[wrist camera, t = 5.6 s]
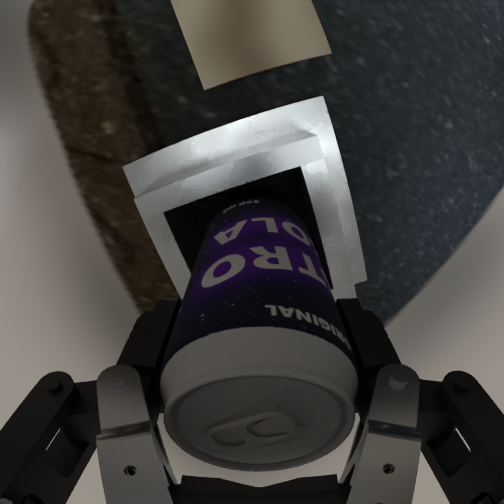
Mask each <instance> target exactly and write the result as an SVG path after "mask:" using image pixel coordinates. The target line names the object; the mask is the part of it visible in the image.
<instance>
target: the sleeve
mask: <svg viewBox="0 0 504 504" xmlns="http://www.w3.org/2000/svg"><path fill="white" fill-rule="evenodd" d="M292 168H294V169H295V172H296V175H297V178H298V182H299V185H300V188H301V192H302V195H303V199H304V202H305V205H306V209H307V212H308V216H309V219H310V223H311V227H312V230H313V234H314V237H315V241H316V245H317V249H318V251H317V255H318V257H319V260H320V263H321V265H322V268H323V270H324V273H325V276H326V278H327V281H328V284H329V286H330V289H331V292H332V294H333V297H334V300H335V303H336V300H337V299H338V298H356V292H355V287H354V284H357V283H360V282H363V281H366V280H367V276H366V270H365V264H364V259H363V253H362V248H361V243H360V237H359V233H358V228H357V223H356V218H355V213H354V209H353V204H352V200H351V196H350V191H349V187H348V183H347V179H346V175H345V171H344V167H343V163H342V159H341V156H340V152H339V148H338V145H337V141H336V137H335V134H334V130H333V127H332V124H331V120H330V117H329V114H328V110H327V107H326V104H325V101H324V97H323V96H319V97H315V98H311V99H308V100H304V101H300V102H296V103H293V104H289V105H286V106H282V107H279V108H275V109H272V110H269V111H266V112H262V113H259V114H256V115H253V116H250V117H247V118H244V119H241V120H238V121H235V122H232V123H229V124H226V125H223V126H220V127H217V128H215V129H212V130H209V131H207V132H204V133H201V134H199V135H196V136H193V137H191V138H188V139H186V140H183V141H181V142H178V143H176V144H173V145H171V146H168V147H166V148H163V149H161V150H159V151H156V152H154V153H152V154H149V155H147V156H145V157H143V158H140V159H138V160H136V161H134V162H131V163H129V164H127V165H125V166H123V169H124V172H125V174H126V177H127V179H128V181H129V184H130V186H131V188H132V191H133V193H134V195H135V198H134V201H135V203H136V206H137V208H138V210H139V212H140V215H141V217H142V219H143V221H144V223H145V226H146V228H147V230H148V232H149V234H150V236H151V238H152V241H153V243H154V245H155V247H156V249H157V251H158V253H159V255H160V257H161V259H162V261H163V263H164V265H165V267H166V269H167V271H168V273H169V275H170V277H171V279H172V281H173V283H174V285H175V287H176V289H177V291H178V293H179V295H180V297H181V299H182V300H183V297H184V294H185V291H186V288H187V285H188V282H189V279H190V277H191V274H192V271H193V268H194V265H195V262H196V259H197V257H198V254H199V251H200V248H201V246H202V243H203V240H204V238H203V236H202V234H201V231H200V229H199V226H198V224H197V222H196V219H195V217H194V215H193V212H192V210H191V207H190V205H189V202H192V201H195V200H198V199H201V198H203V197H206V196H209V195H212V194H215V193H218V192H221V191H224V190H227V189H230V188H232V187H235V186H238V185H242V184H245V183H248V182H251V181H254V180H257V179H260V178H263V177H266V176H269V175H273V174H276V173H279V172H282V171H286V170H289V169H292Z"/></svg>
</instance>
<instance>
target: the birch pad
mask: <svg viewBox="0 0 504 504" xmlns="http://www.w3.org/2000/svg"><path fill="white" fill-rule="evenodd" d="M171 3H172V6H173V8H174V11H175V14H176V16H177V19H178V21H179V24H180V27H181V29H182V32H183V35H184V37H185V40H186V43H187V45H188V48H189V51H190V53H191V56H192V58H193V61H194V64H195V67H196V69H197V72H198V75H199V77H200V80H201V83H202V85H203V88H204V90H209V89H211V88H214V87H217V86H220V85H222V84H225V83H228V82H231V81H234V80H237V79H240V78H243V77H246V76H250V75H253V74H256V73H259V72H263V71H266V70H270V69H273V68H277V67H280V66H284V65H288V64H292V63H296V62H300V61H304V60H308V59H312V58H317V57H321V56H326V55H330V54H331V53H332V52H331V49H330V47H329V44H328V41H327V38H326V36H325V33H324V31H323V28H322V25H321V23H320V20H319V18H318V15H317V13H316V11H315V8H314V6H313V3H312V1H311V0H171Z"/></svg>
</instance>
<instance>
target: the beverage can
mask: <svg viewBox="0 0 504 504" xmlns="http://www.w3.org/2000/svg"><path fill="white" fill-rule="evenodd" d="M358 387H359V370H358V366H357V363H356V360H355V357H354V354H353V351H352V348H351V345H350V342H349V339H348V336H347V333H346V331H345V328H344V325H343V322H342V319H341V316H340V314H339V311H338V308H337V305H336V303H335V300H334V297H333V294H332V292H331V289H330V286H329V284H328V281H327V278H326V276H325V273H324V270H323V268H322V265H321V263H320V260H319V257H318V255H317V252H316V250H315V247H314V245H313V242H312V240H311V237H310V235H309V232H308V230H307V227H306V225H305V223H304V222H303V220H302V219H301V217H300V216H299V215H298V214H297V213H296V212H295V211H294V210H293V209H291V208H290V207H288V206H287V205H285V204H283V203H281V202H279V201H276V200H273V199H269V198H260V197H255V198H246V199H242V200H239V201H236V202H234V203H232V204H230V205H228V206H227V207H225V208H224V209H222V210H221V211H220V212H219V213H218V214H217V215H216V216H215V217H214V219H213V220H212V221H211V223H210V225H209V227H208V229H207V232H206V235H205V237H204V240H203V243H202V246H201V248H200V251H199V254H198V257H197V259H196V262H195V265H194V268H193V271H192V274H191V277H190V279H189V282H188V285H187V288H186V291H185V294H184V297H183V300H182V303H181V306H180V309H179V312H178V315H177V318H176V321H175V324H174V327H173V330H172V333H171V336H170V339H169V342H168V345H167V349H166V352H165V355H164V358H163V361H162V365H161V368H160V372H159V388H160V393H161V396H162V399H163V402H164V404H165V410H164V424H165V428H166V431H167V432H168V434H169V436H170V438H171V439H172V440H173V441H174V442H175V443H176V444H177V445H178V446H179V447H180V448H181V449H182V450H184V451H185V452H187V453H188V454H190V455H191V456H193V457H195V458H197V459H199V460H201V461H204V462H206V463H209V464H212V465H216V466H219V467H223V468H228V469H233V470H240V471H254V472H258V471H260V472H261V471H275V470H283V469H288V468H293V467H297V466H301V465H304V464H307V463H309V462H312V461H315V460H317V459H319V458H321V457H323V456H325V455H327V454H328V453H330V452H331V451H333V450H334V449H336V448H337V447H338V446H339V445H340V444H341V443H342V442H343V441H344V440H345V439H346V438H347V437H348V435H349V434H350V432H351V430H352V428H353V425H354V421H355V410H354V406H353V403H354V401H355V398H356V395H357V391H358Z"/></svg>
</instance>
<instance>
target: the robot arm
mask: <svg viewBox="0 0 504 504" xmlns="http://www.w3.org/2000/svg"><path fill="white" fill-rule="evenodd" d="M336 305H337V308H338V311H339V314H340V316H341V319H342V322H343V325H344V328H345V331H346V333H347V336H348V339H349V342H350V345H351V348H352V351H353V354H354V357H355V360H356V363H357V366H358V370H359V387H358V391H357V395H356V398H355V401H354V403H353V406H354V410H355V413H359V416H360V421H359V423H358V426H357V429H356V433H355V437H354V440H353V444H352V447H351V450H350V454H349V457H348V460H347V463H346V466H345V469H344V471H343V474H342V476H341V478H340V481H339V483H338V480H337V474H333V475H325V476H314V477H301V478H296V479H293V480H289V481H286V482H282V483H278V484H274V485H270V486H265V487H254V486H249V485H245V484H240V483H236V482H232V481H228V480H225V479H221V478H208V477H196V476H185V475H182V479H181V484H178V483H177V481H176V478H175V476H174V474H173V471H172V469H171V466H170V463H169V460H168V457H167V453H166V450H165V447H164V444H163V441H162V437H161V434H160V430H159V427H158V424H157V421H158V417H159V413H164V410H165V404H164V402H163V399H162V396H161V393H160V388H159V372H160V368H161V365H162V361H163V358H164V355H165V352H166V349H167V345H168V342H169V339H170V336H171V333H172V330H173V327H174V324H175V321H176V318H177V315H178V312H179V309H180V306H181V300H180V299H178V298H160V299H159V301H158V303H157V305H156V307H155V310H154V311H146V312H145V313H143V314H142V315H141V316H140V317H139V318H138V319H137V321H136V323H135V325H134V327H133V330H132V332H131V333H130V336H129V338H128V340H127V342H126V344H125V346H124V348H123V351H122V353H121V355H120V357H119V360H118V362H117V364H116V365H114V366H111V367H109V368H107V369H105V370H104V371H102V372H101V374H100V375H99V376H98V378H97V380H94V381H87V382H79V383H74V381H73V379H72V378H71V376H70V375H69V374H67V373H65V372H61V371H56V372H51V373H49V374H47V375H45V376H44V377H42V378H41V379H40V380H39V382H38V383H37V384H36V385H35V387H34V388H33V389H32V390H31V391H30V393H29V394H28V395H27V397H26V398H25V399H24V400H23V402H22V403H21V404H20V405H19V407H18V408H17V410H16V411H15V412H14V413H13V414H12V416H11V417H10V418H9V420H8V421H7V422H6V424H5V425H4V427H3V428H2V429H1V430H0V504H66V502H67V500H68V498H69V497H70V495H71V493H72V491H73V489H74V487H75V485H76V484H77V482H78V480H79V478H80V476H81V475H82V473H83V471H84V469H85V467H86V466H87V464H88V462H89V460H90V458H91V457H92V455H93V453H94V451H95V450H96V448H97V452H98V459H99V466H100V472H101V478H102V483H103V488H104V494H105V498H106V503H107V504H411V503H412V499H413V493H414V487H415V483H416V477H417V470H418V464H419V457H420V450H421V452H422V453H423V455H424V457H425V459H426V460H427V462H428V464H429V466H430V467H431V469H432V471H433V473H434V475H435V477H436V479H437V480H438V482H439V484H440V486H441V488H442V490H443V491H444V493H445V495H446V497H447V499H448V500H449V503H450V504H504V414H503V413H502V412H501V410H500V409H499V408H498V407H497V405H496V404H495V403H494V401H493V400H492V399H491V398H490V396H489V395H488V394H487V393H486V391H485V390H484V389H483V388H482V386H481V385H480V384H479V383H478V381H477V380H476V379H475V378H474V377H473V376H472V375H470V374H468V373H466V372H463V371H452V372H450V373H448V374H447V375H446V376H445V377H444V379H443V381H442V382H439V381H430V380H422V379H419V377H418V375H417V373H416V372H415V371H414V370H413V369H411V368H410V367H408V366H406V365H403V364H401V362H400V360H399V358H398V355H397V353H396V351H395V349H394V347H393V345H392V343H391V341H390V339H389V338H388V335H387V333H386V330H384V326H383V324H382V322H381V320H380V318H378V317H377V316H376V315H375V314H374V313H373V312H371V311H363V309H362V307H361V305H360V302H359V300H358V299H357V298H338V299H337V300H336ZM456 428H457V429H458V430H459V432H460V433H461V435H462V437H463V438H464V440H465V441H466V443H467V444H468V446H469V448H470V451H469V450H468V448H467V446H466V445H465V443H464V442H463V440H462V439H461V437H460V436H459V434H458V433H457V431H456V430H455V429H456ZM59 429H60V430H59ZM58 430H59V432H58ZM57 432H58V434H57V435H56V433H57ZM55 435H56V436H55ZM54 436H55V438H54ZM53 438H54V440H53V441H52V439H53ZM51 441H52V443H51V444H50V442H51ZM49 444H50V446H49V447H48V445H49ZM47 447H48V449H47ZM46 449H47V450H46ZM470 452H471V453H470Z"/></svg>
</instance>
